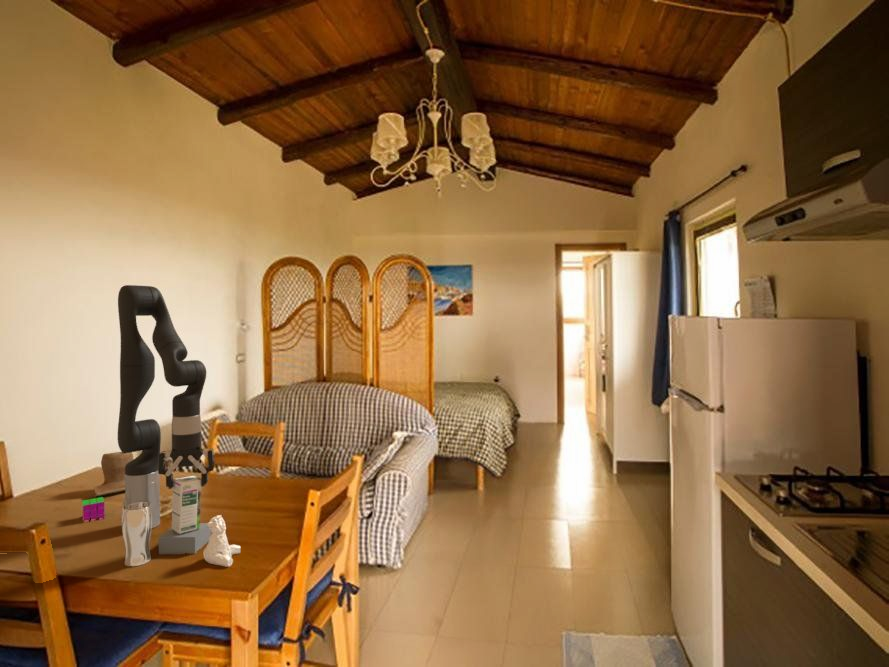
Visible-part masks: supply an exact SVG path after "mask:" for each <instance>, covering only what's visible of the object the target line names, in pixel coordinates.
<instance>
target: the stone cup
mask: <svg viewBox="0 0 889 667" xmlns="http://www.w3.org/2000/svg"><path fill="white" fill-rule="evenodd" d="M134 459H135V458H134V452H131V453H124V452H122V451H116V452H108V453H104V454H103V455H102V457H101V461H100V466H101V469H102V473H103V474H102V475H103V479H104V481H103V482H102V483H101V484H100V485H97V486H94V488H93V494H94V498H95V497H96V496H98V497H103V496H108V495H112V493H113V494H116V493H120V492H125V465H126V464H127V463H129V462H130V461H132V460H134ZM107 494H108V495H107ZM102 495H103V496H102ZM96 498H97V497H96Z"/></svg>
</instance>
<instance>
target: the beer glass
mask: <svg viewBox="0 0 889 667" xmlns="http://www.w3.org/2000/svg"><path fill="white" fill-rule="evenodd" d="M121 512H122V513H121V530H122V537H123V540H124V545H125V551H126V552H125V558H124V565H125V566H126V567H130V566H131V567H138V566H141V565H145V564H147V563H149V562H150V561H151V560H152V556H151V550H150V540H151V534H152V529H153V528H152V511H151V503H150V502H136V503H131V504H128V505H126V506H124V507H123V506H122V511H121Z"/></svg>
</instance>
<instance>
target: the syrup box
mask: <svg viewBox="0 0 889 667" xmlns="http://www.w3.org/2000/svg"><path fill="white" fill-rule="evenodd" d="M171 501H172V502H171V503H172V504H171V505H172V506H171V508H172V509H171V528H172V529H173V530H174V531H176V532H177V533H179V534H182V533H185V532H189V531H193V530H197V529H200V523H201V506H202V505H201V503H202V486H201V478H200V477H199V476H196V475H189V476H184V477H179V478H173V487H172V500H171Z"/></svg>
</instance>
